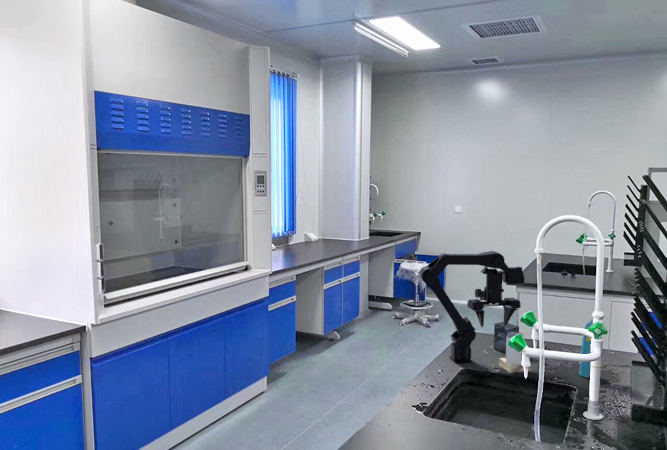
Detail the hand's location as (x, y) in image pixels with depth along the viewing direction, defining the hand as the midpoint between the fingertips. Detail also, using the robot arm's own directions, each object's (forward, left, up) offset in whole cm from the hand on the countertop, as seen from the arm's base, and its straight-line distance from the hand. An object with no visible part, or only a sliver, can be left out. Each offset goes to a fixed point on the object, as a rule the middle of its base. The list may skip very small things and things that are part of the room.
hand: (493, 326), depth 189 cm
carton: (+4, -9, -10) cm, 15 cm away
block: (+4, -9, -14) cm, 17 cm away
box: (+10, +9, -13) cm, 19 cm away
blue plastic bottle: (+25, -20, -13) cm, 35 cm away
